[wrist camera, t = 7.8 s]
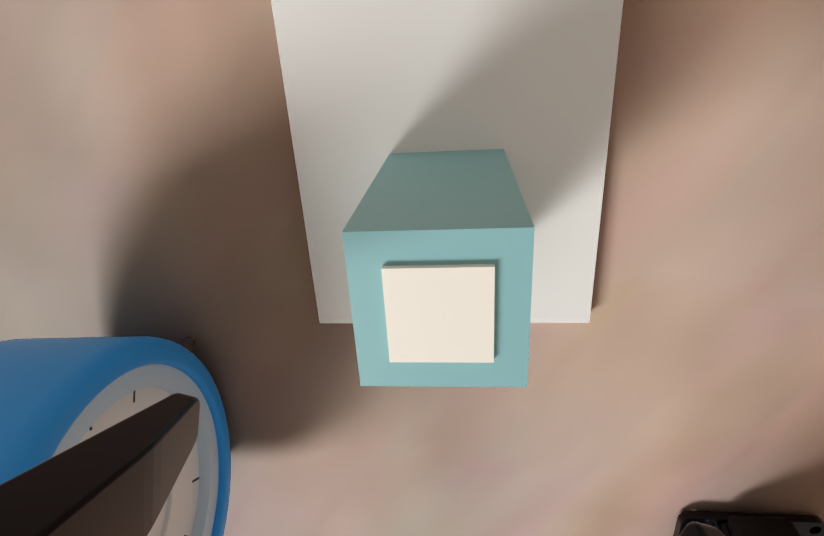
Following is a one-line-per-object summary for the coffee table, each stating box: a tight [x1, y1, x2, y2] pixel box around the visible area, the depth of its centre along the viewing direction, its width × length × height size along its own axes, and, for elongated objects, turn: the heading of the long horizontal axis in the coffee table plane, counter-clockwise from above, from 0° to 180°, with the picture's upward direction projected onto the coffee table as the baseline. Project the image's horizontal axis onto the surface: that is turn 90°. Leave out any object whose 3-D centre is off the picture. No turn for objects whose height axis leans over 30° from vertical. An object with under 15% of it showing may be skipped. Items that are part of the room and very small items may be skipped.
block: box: [342, 149, 535, 387], centre depth 15 cm, size 4×4×8 cm
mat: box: [271, 0, 623, 323], centre depth 18 cm, size 16×11×1 cm
